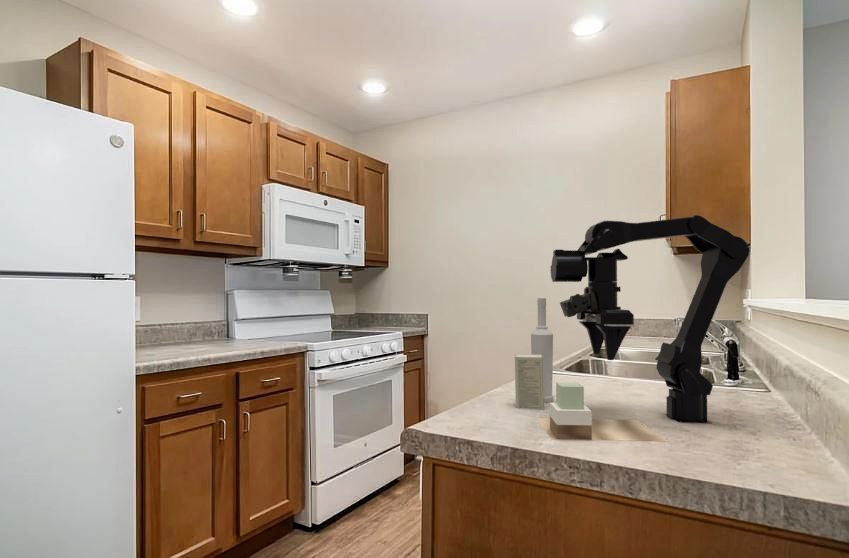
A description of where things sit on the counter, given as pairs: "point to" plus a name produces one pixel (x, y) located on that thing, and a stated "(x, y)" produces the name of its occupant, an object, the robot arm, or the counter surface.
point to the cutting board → (614, 430)
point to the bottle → (544, 349)
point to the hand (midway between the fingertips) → (603, 356)
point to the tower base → (571, 431)
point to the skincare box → (529, 381)
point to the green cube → (569, 395)
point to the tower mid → (570, 415)
